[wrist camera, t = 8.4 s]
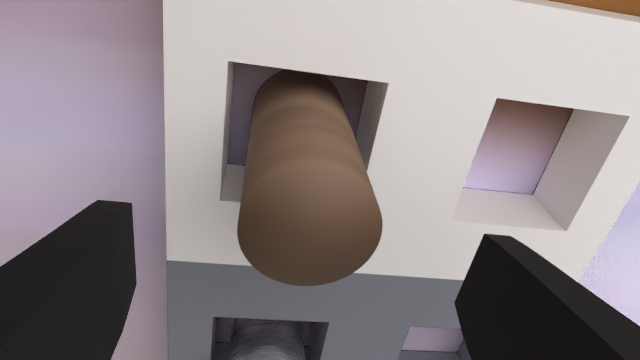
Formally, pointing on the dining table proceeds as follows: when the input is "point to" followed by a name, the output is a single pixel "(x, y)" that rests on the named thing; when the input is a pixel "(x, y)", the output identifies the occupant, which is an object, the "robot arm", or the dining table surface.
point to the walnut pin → (305, 185)
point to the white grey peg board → (395, 154)
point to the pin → (266, 339)
